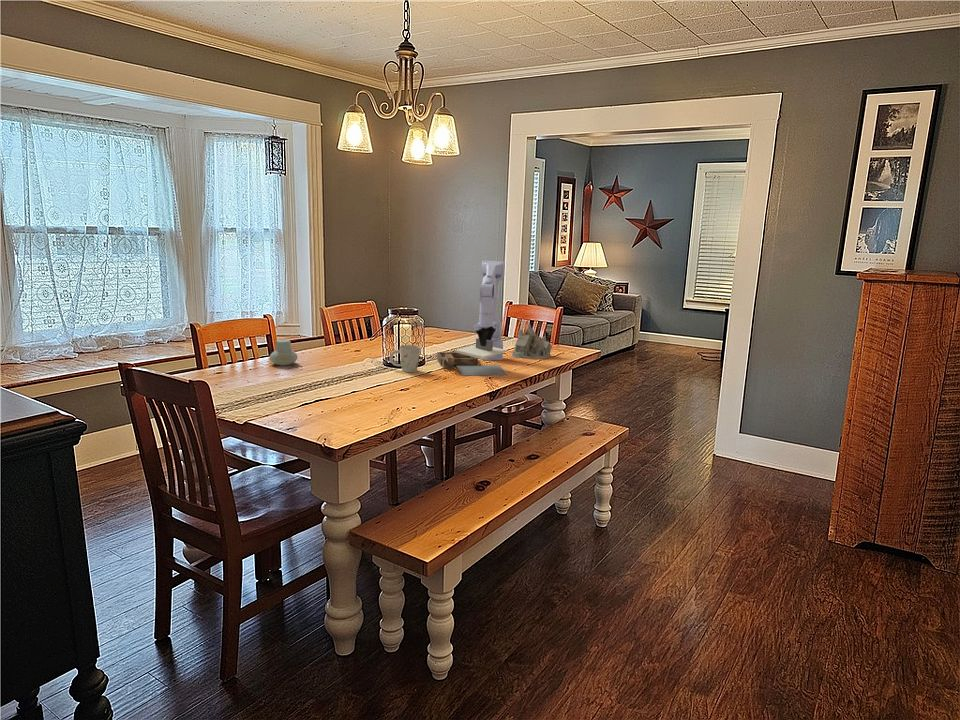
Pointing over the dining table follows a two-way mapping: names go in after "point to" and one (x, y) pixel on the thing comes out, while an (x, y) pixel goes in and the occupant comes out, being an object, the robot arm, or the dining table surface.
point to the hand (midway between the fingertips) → (485, 345)
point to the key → (449, 358)
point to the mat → (480, 370)
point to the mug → (407, 357)
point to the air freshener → (283, 353)
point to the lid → (481, 350)
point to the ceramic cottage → (531, 345)
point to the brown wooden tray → (455, 360)
